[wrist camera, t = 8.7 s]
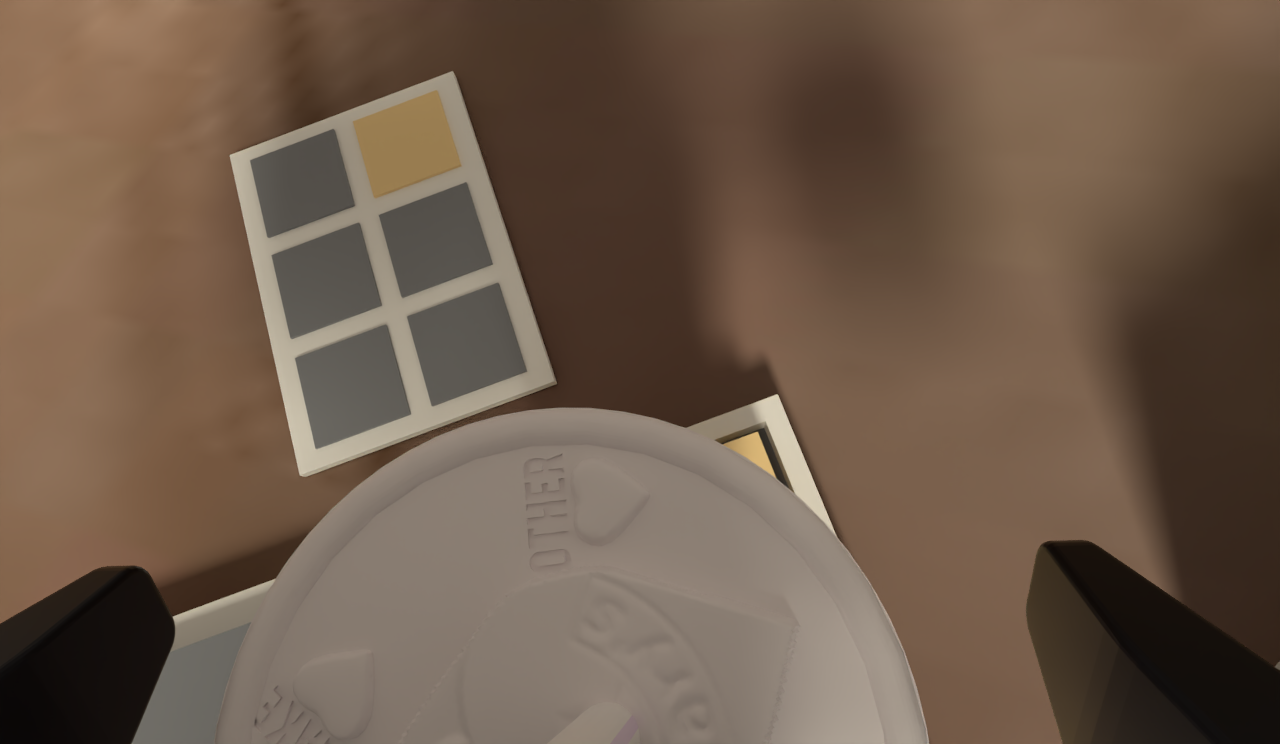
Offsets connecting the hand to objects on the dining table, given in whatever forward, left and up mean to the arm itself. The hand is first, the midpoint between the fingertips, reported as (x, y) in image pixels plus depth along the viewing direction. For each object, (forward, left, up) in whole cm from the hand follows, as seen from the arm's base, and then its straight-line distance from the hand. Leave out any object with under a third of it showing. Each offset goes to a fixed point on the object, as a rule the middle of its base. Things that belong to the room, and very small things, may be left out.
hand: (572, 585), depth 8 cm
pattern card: (+11, +4, -11) cm, 16 cm away
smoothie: (-1, 0, -9) cm, 9 cm away
